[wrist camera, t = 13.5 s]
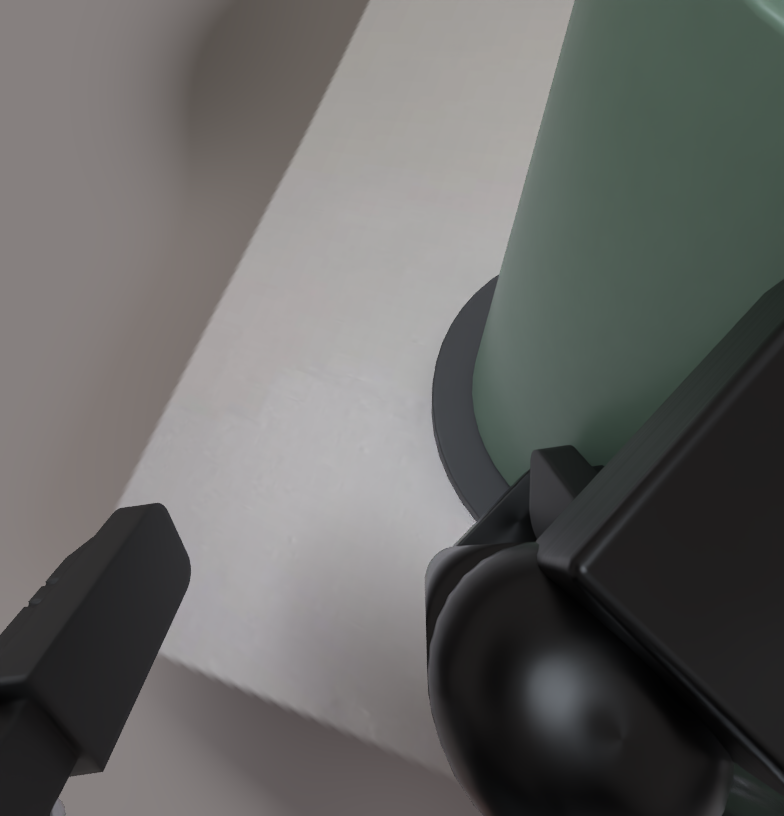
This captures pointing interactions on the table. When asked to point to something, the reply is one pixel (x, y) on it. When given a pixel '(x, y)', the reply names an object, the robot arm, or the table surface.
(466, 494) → the kettle base
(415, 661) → the table surface
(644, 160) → the kettle
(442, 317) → the table surface
